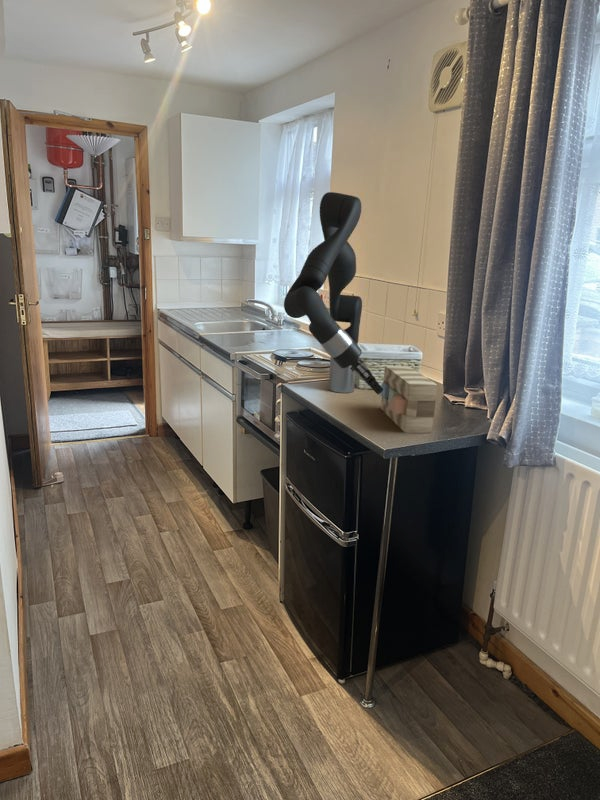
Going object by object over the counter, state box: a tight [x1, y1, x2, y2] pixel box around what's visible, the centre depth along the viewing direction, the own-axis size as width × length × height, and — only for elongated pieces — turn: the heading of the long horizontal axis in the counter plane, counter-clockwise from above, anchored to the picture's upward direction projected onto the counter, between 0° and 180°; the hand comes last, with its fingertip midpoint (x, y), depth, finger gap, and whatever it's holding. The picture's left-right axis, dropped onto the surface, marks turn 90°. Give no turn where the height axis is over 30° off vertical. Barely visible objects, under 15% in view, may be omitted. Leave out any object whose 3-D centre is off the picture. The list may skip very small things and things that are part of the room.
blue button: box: [380, 383, 390, 398], centre depth 182 cm, size 4×3×4 cm
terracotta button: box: [390, 396, 406, 414], centre depth 166 cm, size 4×3×4 cm
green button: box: [388, 389, 398, 403], centre depth 174 cm, size 4×3×4 cm
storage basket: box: [355, 342, 423, 390], centre depth 216 cm, size 24×16×15 cm
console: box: [380, 366, 438, 434], centre depth 175 cm, size 24×8×14 cm, turn 8°
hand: (380, 391), depth 165 cm, fingers closed
